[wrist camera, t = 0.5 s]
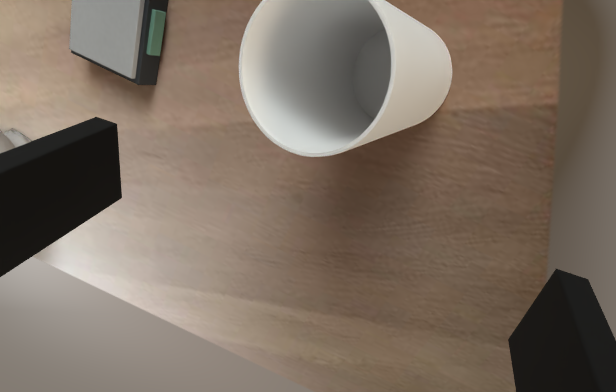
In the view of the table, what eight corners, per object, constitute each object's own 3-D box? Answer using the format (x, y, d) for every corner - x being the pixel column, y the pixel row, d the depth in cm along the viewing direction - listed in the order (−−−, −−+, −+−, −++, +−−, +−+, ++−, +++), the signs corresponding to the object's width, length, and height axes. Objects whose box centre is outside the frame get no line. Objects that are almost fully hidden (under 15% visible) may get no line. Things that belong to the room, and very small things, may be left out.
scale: (97, -48, 44) (71, -57, 41) (175, -22, 40) (151, -29, 37) (90, 54, 48) (65, 52, 46) (159, 86, 44) (137, 86, 42)
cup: (465, 28, 29) (417, -23, 16) (437, 137, 32) (374, 176, 18) (361, 16, 33) (245, -34, 19) (343, 117, 35) (231, 137, 22)
